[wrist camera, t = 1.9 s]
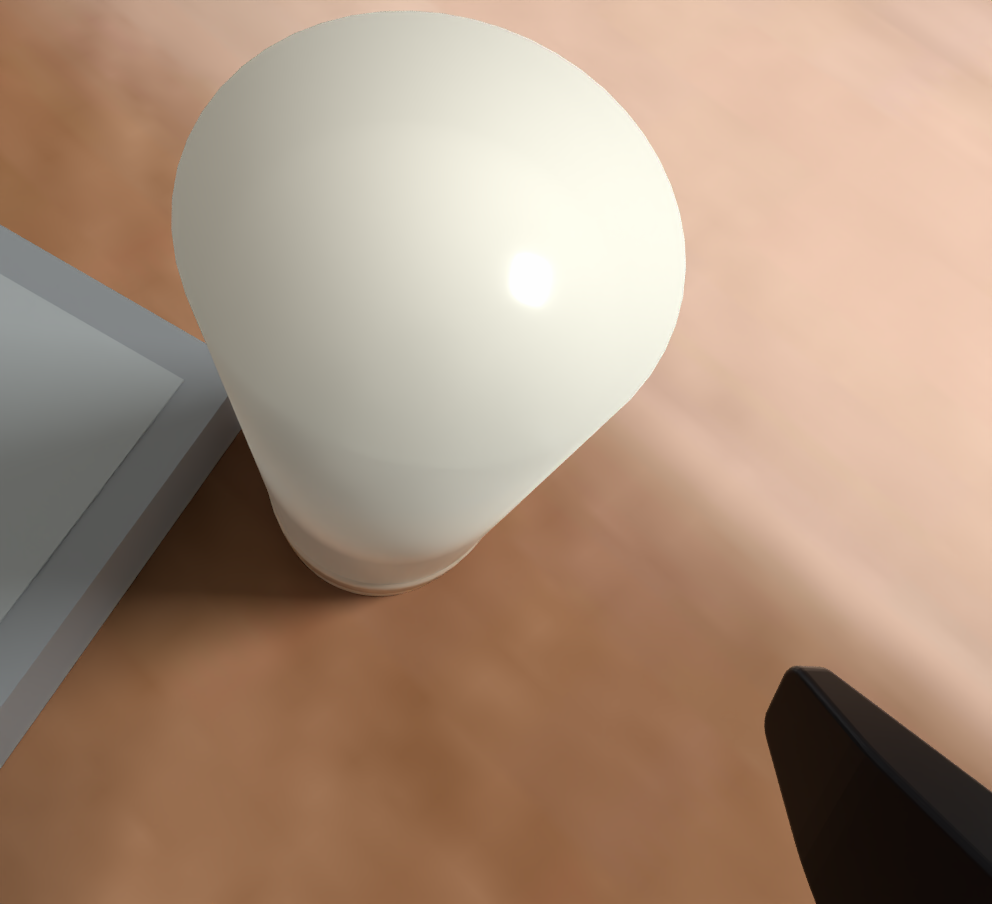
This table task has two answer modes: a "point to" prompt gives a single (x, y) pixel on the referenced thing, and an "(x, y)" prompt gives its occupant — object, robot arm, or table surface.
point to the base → (86, 461)
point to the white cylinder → (420, 279)
